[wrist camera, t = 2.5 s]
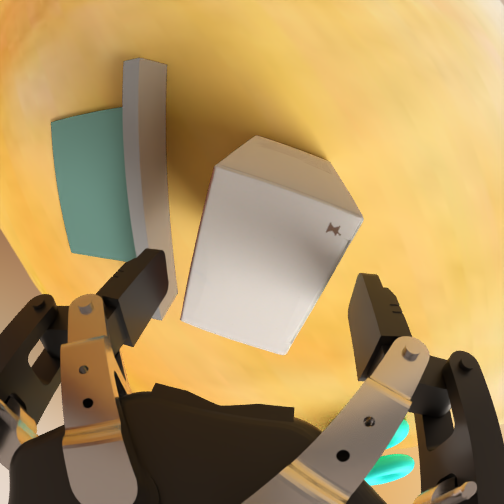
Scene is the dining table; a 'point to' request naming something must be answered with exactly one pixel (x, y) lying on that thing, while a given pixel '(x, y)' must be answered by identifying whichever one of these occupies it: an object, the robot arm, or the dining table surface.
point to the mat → (94, 184)
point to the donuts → (392, 461)
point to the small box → (267, 244)
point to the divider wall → (148, 163)
